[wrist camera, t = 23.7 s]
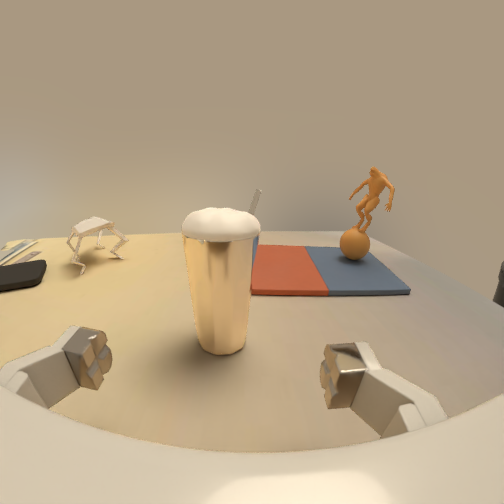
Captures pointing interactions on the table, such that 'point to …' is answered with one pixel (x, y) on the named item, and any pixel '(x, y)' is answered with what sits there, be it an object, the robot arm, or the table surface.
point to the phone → (21, 274)
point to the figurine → (356, 239)
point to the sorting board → (320, 273)
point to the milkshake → (221, 273)
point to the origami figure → (91, 227)
